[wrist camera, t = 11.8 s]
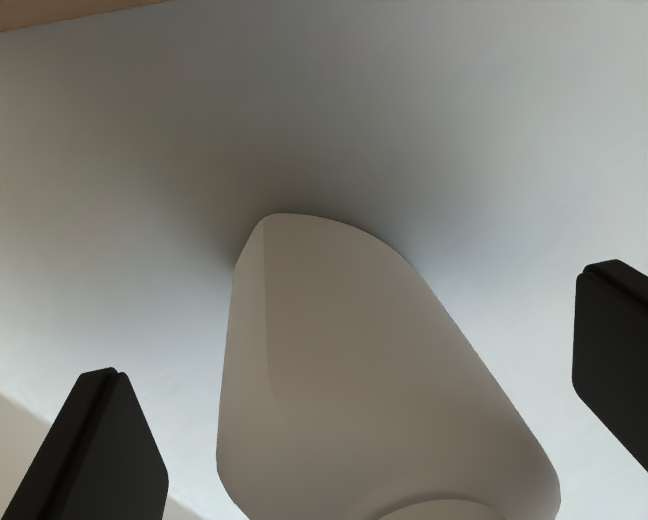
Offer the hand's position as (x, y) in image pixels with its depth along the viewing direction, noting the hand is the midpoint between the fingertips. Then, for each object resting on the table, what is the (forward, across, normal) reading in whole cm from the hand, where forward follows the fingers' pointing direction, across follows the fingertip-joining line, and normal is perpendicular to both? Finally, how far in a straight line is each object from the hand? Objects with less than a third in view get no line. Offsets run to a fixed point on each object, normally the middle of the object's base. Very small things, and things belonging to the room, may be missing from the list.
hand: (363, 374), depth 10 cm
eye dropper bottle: (+5, 0, 0) cm, 5 cm away
